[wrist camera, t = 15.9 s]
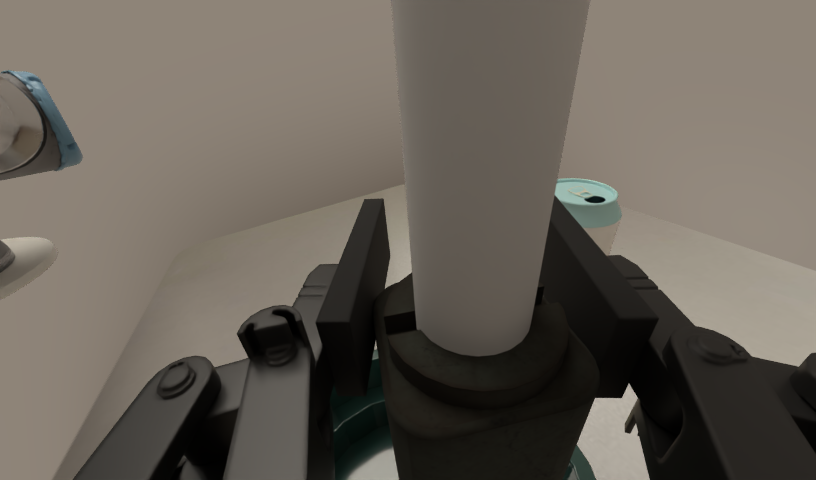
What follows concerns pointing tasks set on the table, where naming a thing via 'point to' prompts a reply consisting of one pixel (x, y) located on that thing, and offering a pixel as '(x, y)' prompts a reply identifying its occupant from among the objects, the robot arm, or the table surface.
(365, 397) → the bowl
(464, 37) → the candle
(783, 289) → the table surface
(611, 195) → the can
